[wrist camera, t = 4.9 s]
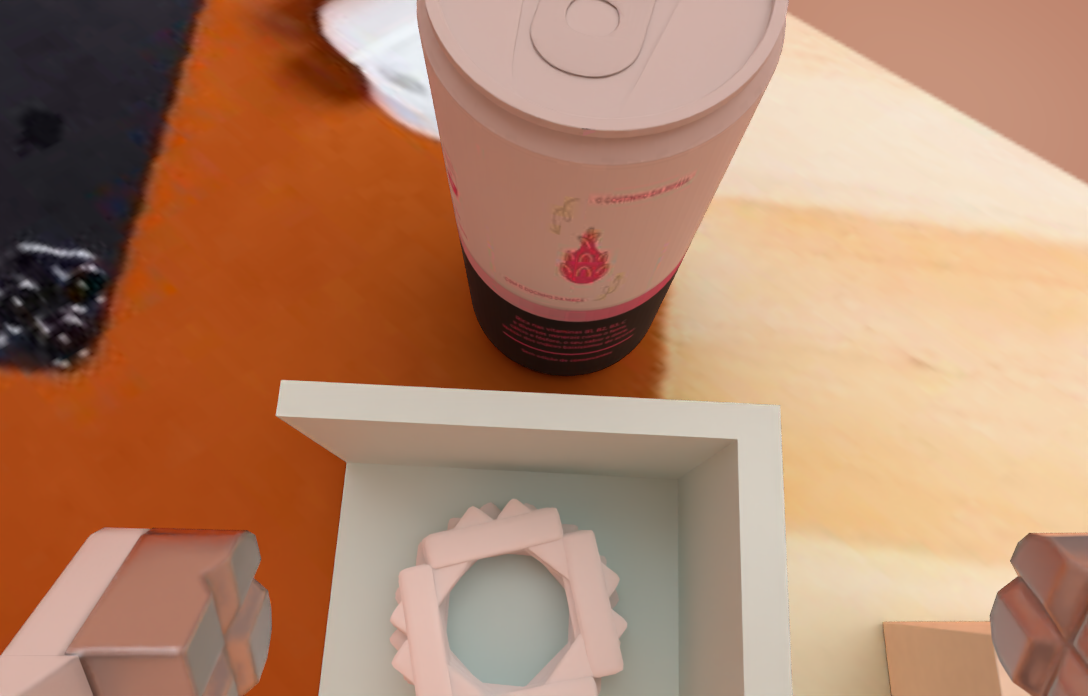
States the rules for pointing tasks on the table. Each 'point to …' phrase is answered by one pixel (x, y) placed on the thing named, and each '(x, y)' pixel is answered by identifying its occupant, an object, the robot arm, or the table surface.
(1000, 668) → the light tan block
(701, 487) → the l-shaped corner panel
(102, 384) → the table surface
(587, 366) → the beverage can
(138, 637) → the robot arm
